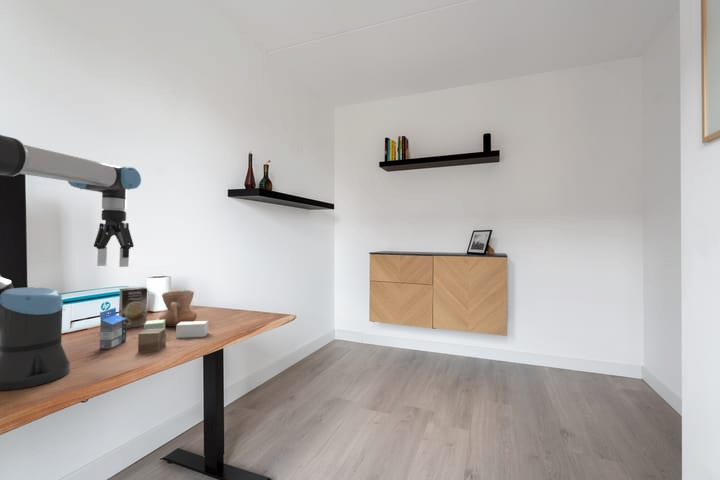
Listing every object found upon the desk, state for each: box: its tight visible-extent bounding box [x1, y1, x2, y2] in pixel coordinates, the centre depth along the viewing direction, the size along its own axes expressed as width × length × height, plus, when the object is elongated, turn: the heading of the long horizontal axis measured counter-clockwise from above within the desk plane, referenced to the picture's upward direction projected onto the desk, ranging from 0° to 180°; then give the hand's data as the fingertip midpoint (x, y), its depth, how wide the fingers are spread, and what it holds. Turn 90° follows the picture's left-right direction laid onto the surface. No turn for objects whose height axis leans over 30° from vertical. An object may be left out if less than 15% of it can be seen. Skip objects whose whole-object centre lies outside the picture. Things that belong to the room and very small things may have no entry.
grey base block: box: [175, 320, 209, 339], centre depth 128 cm, size 5×10×5 cm, turn 101°
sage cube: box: [143, 319, 166, 331], centre depth 125 cm, size 6×6×6 cm
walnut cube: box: [137, 327, 167, 353], centre depth 112 cm, size 6×6×6 cm
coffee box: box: [118, 286, 148, 329], centre depth 142 cm, size 9×6×16 cm
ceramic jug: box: [158, 289, 198, 327], centre depth 145 cm, size 18×14×14 cm
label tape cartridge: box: [99, 307, 127, 350], centre depth 116 cm, size 9×4×12 cm, turn 7°
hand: (112, 266), depth 125 cm, fingers open, 13 cm apart
